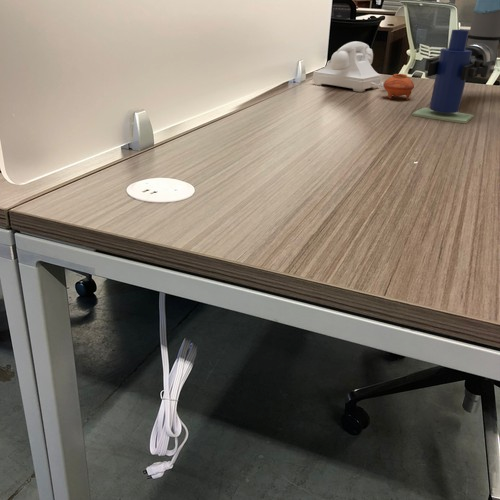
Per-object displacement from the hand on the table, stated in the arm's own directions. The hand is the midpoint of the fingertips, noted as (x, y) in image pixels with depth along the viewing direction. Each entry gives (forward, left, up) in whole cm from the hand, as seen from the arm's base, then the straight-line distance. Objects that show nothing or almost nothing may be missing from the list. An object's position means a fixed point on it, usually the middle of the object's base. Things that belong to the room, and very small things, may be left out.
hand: (446, 71), depth 109 cm
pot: (+16, -19, -11) cm, 27 cm away
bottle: (0, -5, -9) cm, 10 cm away
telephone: (+32, -29, -11) cm, 45 cm away
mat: (0, -5, -11) cm, 12 cm away
